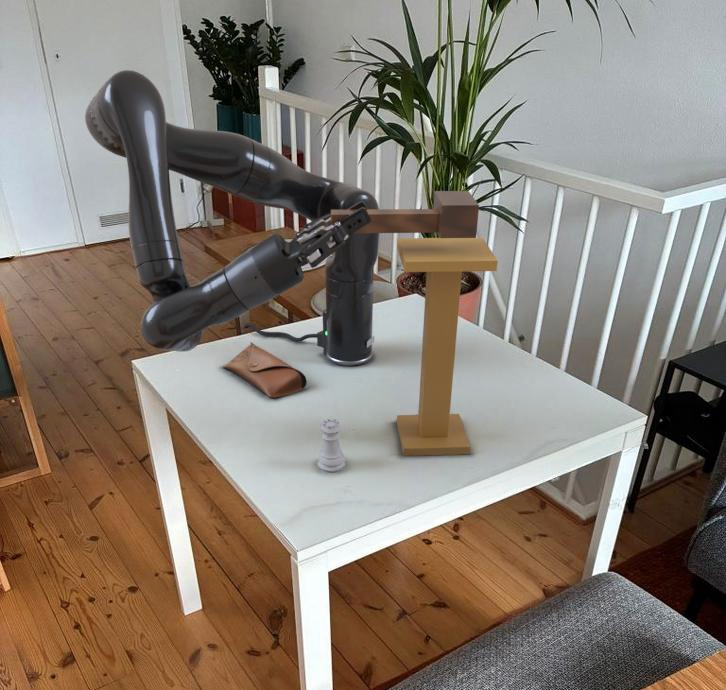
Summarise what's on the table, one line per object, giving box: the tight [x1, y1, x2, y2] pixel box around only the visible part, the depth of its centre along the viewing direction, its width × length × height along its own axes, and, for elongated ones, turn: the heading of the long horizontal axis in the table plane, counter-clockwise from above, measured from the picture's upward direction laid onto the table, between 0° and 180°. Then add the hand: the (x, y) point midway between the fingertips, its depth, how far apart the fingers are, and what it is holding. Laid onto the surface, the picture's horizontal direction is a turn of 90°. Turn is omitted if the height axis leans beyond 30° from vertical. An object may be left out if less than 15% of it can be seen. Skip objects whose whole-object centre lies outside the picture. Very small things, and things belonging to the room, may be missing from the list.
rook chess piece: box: [317, 417, 346, 473], centre depth 115 cm, size 4×4×8 cm
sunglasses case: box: [222, 341, 308, 399], centre depth 142 cm, size 18×7×7 cm, turn 41°
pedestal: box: [396, 237, 499, 457], centre depth 116 cm, size 13×11×32 cm
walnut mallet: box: [331, 190, 480, 238], centre depth 103 cm, size 20×8×4 cm, turn 93°
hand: (366, 210), depth 103 cm, fingers closed on walnut mallet, 2 cm apart
